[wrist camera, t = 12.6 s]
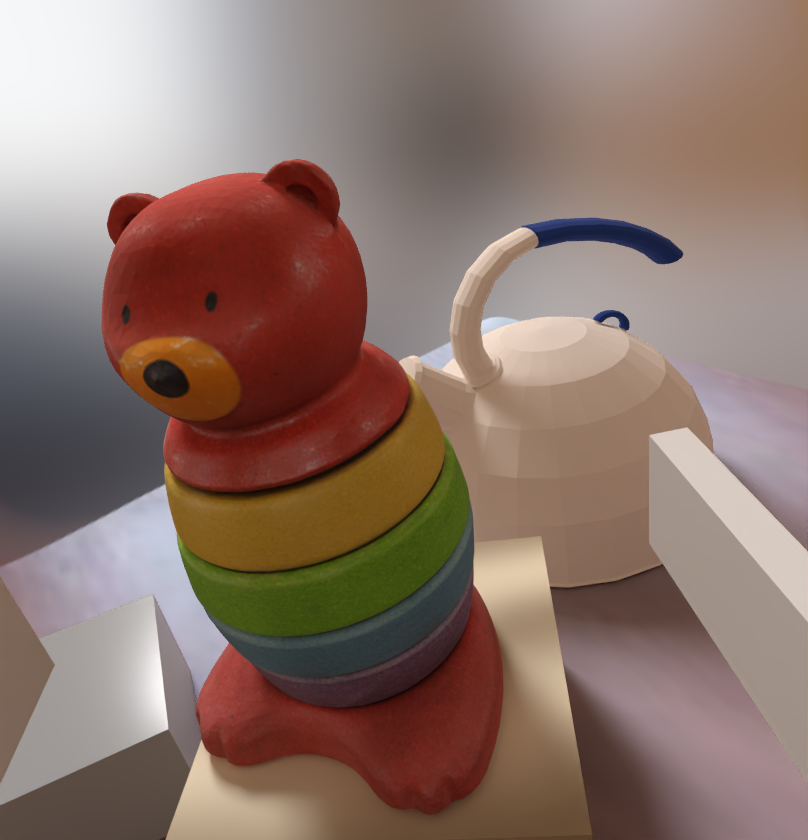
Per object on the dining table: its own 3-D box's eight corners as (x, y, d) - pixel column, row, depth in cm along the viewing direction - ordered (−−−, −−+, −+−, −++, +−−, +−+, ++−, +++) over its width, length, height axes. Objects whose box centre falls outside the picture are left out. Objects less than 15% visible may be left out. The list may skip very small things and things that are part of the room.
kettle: (365, 473, 52) (308, 243, 43) (588, 387, 57) (577, 168, 49) (498, 649, 35) (447, 328, 26) (796, 503, 40) (835, 198, 32)
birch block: (602, 968, 23) (592, 835, 19) (238, 969, 25) (162, 848, 21) (553, 659, 34) (540, 536, 30) (306, 676, 36) (265, 562, 32)
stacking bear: (180, 754, 24) (-139, 280, 14) (308, 551, 31) (154, 157, 22) (474, 834, 19) (288, 230, 10) (540, 576, 27) (468, 99, 18)
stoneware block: (215, 815, 30) (168, 729, 27) (0, 921, 28) (-76, 839, 25) (191, 672, 37) (153, 593, 35) (21, 746, 35) (-36, 668, 32)
